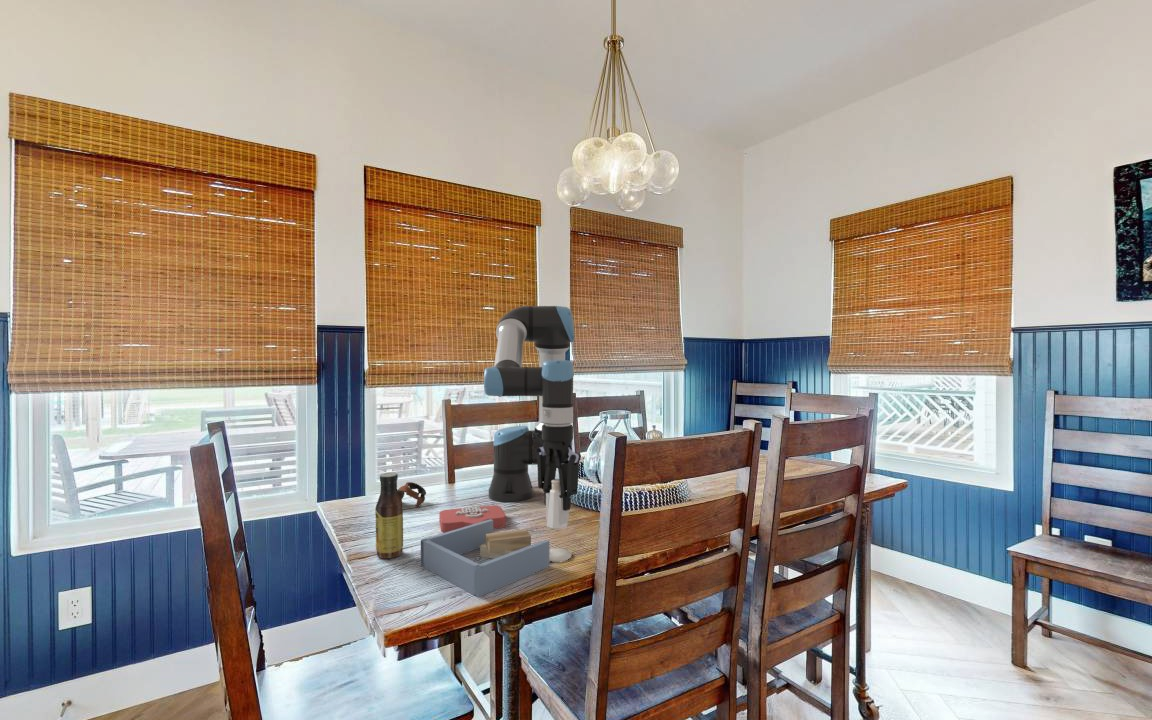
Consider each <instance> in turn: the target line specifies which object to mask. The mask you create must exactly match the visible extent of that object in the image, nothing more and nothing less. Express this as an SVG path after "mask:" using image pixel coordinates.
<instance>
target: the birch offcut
mask: <svg viewBox="0 0 1152 720" xmlns="http://www.w3.org/2000/svg"><path fill="white" fill-rule="evenodd" d="M517 550H519V549H514V550H507V551H499V552H492V553H489V551H488V549H487V547H486V543H484V544H483V545H481V546H480V548H479V555H480V557H484V558H488V559H495V558H498V557H500V556H503V555H506V554H509V553H511V552H514V551H517Z"/></svg>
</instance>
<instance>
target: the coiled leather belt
mask: <svg viewBox="0 0 1152 720" xmlns="http://www.w3.org/2000/svg"><path fill="white" fill-rule="evenodd" d="M415 490H417V491H415ZM397 493H398V495H399V496H400V498H401V499H402V500H403V499H404V497H405V495H406V496H408V497H410V498H413V499H415V500H417V501H416V503H415V508H418V507H419V508H420V507H421V506H422V504H423V503H425V501H426V497H425V496H426V495H427V492H426V489H425V488H424V487H422V486H421V485H420V484H418V483H416V482H412V481H411V482H410V481H409V482H408V481H407V482H406V483H405V484H404V485H402V486H401V487H399V488H397Z"/></svg>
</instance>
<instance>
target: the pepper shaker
mask: <svg viewBox="0 0 1152 720" xmlns="http://www.w3.org/2000/svg"><path fill="white" fill-rule="evenodd" d="M551 482H552V489H551V490H550V496H549V507H548V517H547V520H546V527H547V528H550V529H552V530H562V529H565V528H568V525H569V524H568V523H565V524H562V525H560V524H559V495H561V488H560V481H559V478H555V479H554V480H552V481H551Z"/></svg>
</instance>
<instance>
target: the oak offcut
mask: <svg viewBox="0 0 1152 720" xmlns="http://www.w3.org/2000/svg"><path fill="white" fill-rule="evenodd" d="M530 545H532V536H531V534H530V532H529V531H528V530H527V529H526V528H524V529H516V530H508V531H498V532H493V533H490V534H486V547H487V549H488V551H489V553H492V552H499V551H507V550H514V549H522V548H525V547H528V546H530Z"/></svg>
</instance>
